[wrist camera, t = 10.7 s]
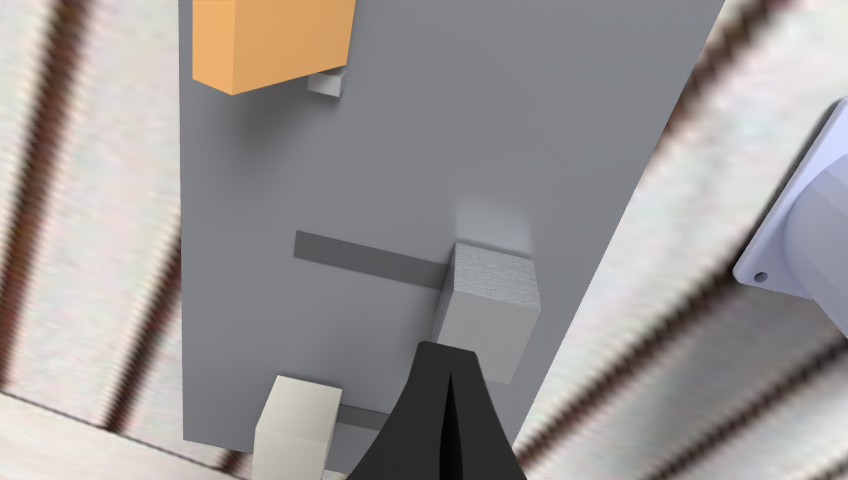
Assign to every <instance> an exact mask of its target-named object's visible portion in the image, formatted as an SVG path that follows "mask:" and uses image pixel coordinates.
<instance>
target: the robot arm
mask: <svg viewBox="0 0 848 480" xmlns="http://www.w3.org/2000/svg"><path fill="white" fill-rule="evenodd" d="M760 272H763V274H762V275H760V276H758V277H754V276H755V275H756V274H757V273H760ZM733 275H734V277H735V278H736V280H737V281H738V282H740V283H742V284H746V285H750V286H754V287H759V288H763V289H767V290H771V291H776V292H780V293H784V294H788V295H792V296H797V297H801V298H805V299H809V300H814V301H816V303H817V304H818V305H819V306H820V307H821V308H822V310H823V311H824V312H825V313H826V314H827V315H828V317H829V318H830V319H831V320H832V321H833V322H834V324H835V325H836V326H837V327H838V328H839V329H840V331H841V332H842V333H843V334H844V335H845V336H846V338H847V339H848V96H847V97H845V98H844V99H842V100H841V101H840V103H839V104H838V105H837V107H836V108H835V110H834V111H833V113H832V115H831V116H830V118H829V119H828V121H827V122H826V124H825V126H824V127H823V129H822V130H821V132H820V133H819V135H818V136H817V138H816V140H815V141H814V143H813V144H812V146H811V147H810V149H809V151H808V152H807V154H806V155H805V157H804V158H803V160H802V162H801V163H800V165H799V166H798V168H797V169H796V171H795V173H794V174H793V176H792V177H791V179H790V180H789V182H788V183H787V185H786V187H785V188H784V190H783V191H782V193H781V194H780V196H779V198H778V199H777V201H776V202H775V204H774V205H773V207H772V209H771V210H770V212H769V213H768V215H767V216H766V218H765V220H764V221H763V223H762V224H761V226H760V227H759V229H758V230H757V232H756V234H755V235H754V237H753V238H752V240H751V241H750V243H749V245H748V246H747V248H746V249H745V251H744V252H743V254H742V256H741V257H740V259H739V260H738V262H737V263H736V265H735V267H734V269H733ZM346 480H527V478H526V476H525V474H524V472H523V470H522V468H521V467H520V464H519V462H518V460H517V458H516V456H515V454H514V452H513V450H512V448H511V446H510V444H509V441H508V439H507V437H506V435H505V432H504V430H503V427H502V425H501V423H500V420H499V418H498V415H497V413H496V410H495V408H494V405H493V403H492V400H491V397H490V394H489V392H488V389H487V386H486V383H485V380H484V377H483V374H482V370H481V367H480V364H479V360H478V356H477V355H476V353H475V352H474V351H469V350H465V349H460V348H456V347H451V346H447V345H442V344H438V343H434V342H429V341H425V340H424V341H422V342H419V343H418V346H417V349H416V353H415V356H414V359H413V363H412V366H411V370H410V373H409V377H408V380H407V383H406V385H405V387H404V389H403V391H402V393H401V395H400V397H399V399H398V401H397V403H396V405H395V407H394V409H393V410H392V412H391V414H390V415H389V417H388V419H387V420H386V422H385V424H384V426H383V427H382V429H381V431H380V432H379V434H378V435H377V437H376V438H375V440H374V441H373V443H372V445H371V446H370V447H369V449H368V450H367V452H366V453H365V455H364V456H363V457H362V459H361V460H360V462H359V463H358V464H357V466H356V467H355V468H354V470H353V471H352V472H351V474H350V475H349V476H348V478H347V479H346Z"/></svg>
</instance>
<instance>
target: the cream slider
mask: <svg viewBox="0 0 848 480" xmlns="http://www.w3.org/2000/svg"><path fill="white" fill-rule="evenodd" d="M341 393H342V389H339V388H334V387H330V386H325V385H320V384H316V383H311V382H307V381H302V380H297V379H293V378H288V377H283V376H279V375H278V376H277V378H276V381H275V383H274V385H273V388H272V390H271V393H270V395H269V397H268V400H267V402H266V405H265V407H264V409H263V412H262V414H261V417H260V419H259V422H258V424H257V426H256V430H255V440H254V451H253V462H252V472H251V480H321V479H322V475H323V471H324V468H325V464H326V460H327V456H328V452H329V449H330V445H331V441H332V437H333V432H334V427H335V422H336V417H337V413H338V408H339V403H340V398H341Z"/></svg>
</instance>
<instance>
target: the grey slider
mask: <svg viewBox="0 0 848 480" xmlns="http://www.w3.org/2000/svg"><path fill="white" fill-rule="evenodd" d="M540 312H541V305H540V299H539V293H538V287H537V281H536V275H535V269H534V263H533V260H529V259H525V258H520V257H516V256H512V255H508V254H503V253H499V252H495V251H490V250H486V249H482V248H477V247H473V246H469V245H465V244H460V243H456V245H455V248H454V251H453V255H452V258H451V261H450V265H449V268H448V271H447V274H446V278H445V281H444V284H443V288H442V291H441V294H440V298H439V301H438V304H437V307H436V311H435V314H434V323H433V333H432V342H434V343H438V344H442V345H447V346H451V347H456V348H460V349H465V350H469V351H474V352H475V353H476V355H477V356H478V360H479V364H480V367H481V370H482V374H483V377H484V379H485V380H490V381H494V382H499V383H503V384H508V385H509V383H510V381H511V379H512V376H513V374H514V372H515V370H516V367H517V365H518V363H519V360H520V358H521V356H522V353H523V351H524V349H525V347H526V344H527V342H528V340H529V337H530V335H531V333H532V330H533V328H534V326H535V323H536V321H537V319H538V317H539V314H540Z"/></svg>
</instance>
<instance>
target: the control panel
mask: <svg viewBox="0 0 848 480" xmlns="http://www.w3.org/2000/svg"><path fill="white" fill-rule="evenodd" d="M724 2H725V0H356V2H355V8H354V15H353V22H352V29H351V36H350V42H349V49H348V56H347V63H346V65H343V66H339V67H335V68H332V69H328V70H324V71H321V72H317V73H313V74H309V75H306V76H302V77H298V78H294V79H291V80H287V81H283V82H280V83H276V84H272V85H268V86H265V87H261V88H257V89H254V90H250V91H246V92H242V93H239V94H235V95H230V94H228V93H225V92H223V91H220V90H218V89H216V88H213V87H211V86H208V85H206V84H204V83H201V82H199V81H197V80H194V79H193V0H179V90H180V182H181V273H182V365H183V440H188V441H192V442H197V443H202V444H207V445H212V446H216V447H221V448H226V449H231V450H235V451H240V452H245V453H250V454H253V451H254V440H255V430H256V426H257V424H258V422H259V419H260V417H261V414H262V412H263V409H264V407H265V405H266V402H267V400H268V397H269V395H270V393H271V390H272V388H273V385H274V383H275V381H276V378H277V376H278V375H279V376H283V377H288V378H293V379H297V380H302V381H307V382H311V383H316V384H320V385H325V386H330V387H334V388H339V389H342V393H341V398H340V403H339V408H338V413H337V417H336V422H335V427H334V432H333V437H332V441H331V445H330V449H329V452H328V456H327V460H326V464H325V468H324V469H326V470H331V471H336V472H341V473H345V474H351V472H352V471H353V470H354V468H355V467H356V466H357V464H358V463H359V462H360V460H361V459H362V457H363V456H364V455H365V453H366V452H367V450H368V449H369V447H370V446H371V445H372V443H373V441H374V440H375V438H376V437H377V435H378V434H379V432H380V431H381V429H382V427H383V426H384V424H385V422H386V420H387V419H388V417H389V415H390V414H391V412H392V410H393V409H394V407H395V405H396V403H397V401H398V399H399V397H400V395H401V393H402V391H403V389H404V387H405V385H406V383H407V380H408V377H409V373H410V370H411V366H412V363H413V359H414V356H415V353H416V349H417V346H418V343H419V342H422V341H424V340H425V341H429V342H432V333H433V323H434V314H435V311H436V307H437V304H438V301H439V298H440V294H441V291H442V288H443V284H444V281H445V278H446V274H447V271H448V268H449V265H450V261H451V258H452V255H453V251H454V248H455V245H456V243H460V244H465V245H469V246H473V247H477V248H482V249H486V250H490V251H495V252H499V253H503V254H508V255H512V256H516V257H520V258H525V259H529V260H533V263H534V269H535V275H536V281H537V287H538V293H539V299H540V305H541V312H540V314H539V317H538V319H537V321H536V323H535V326H534V328H533V330H532V333H531V335H530V337H529V340H528V342H527V344H526V347H525V349H524V351H523V353H522V356H521V358H520V360H519V363H518V365H517V367H516V370H515V372H514V374H513V376H512V379H511V381H510V383H509V385H508V384H503V383H499V382H494V381H490V380H485V379H484V380H485V383H486V386H487V389H488V392H489V394H490V397H491V400H492V403H493V405H494V408H495V410H496V413H497V415H498V418H499V420H500V423H501V425H502V427H503V430H504V432H505V435H506V437H507V439H508V441H509V444H510V446H511V448H512V445H513V443H514V441H515V439H516V437H517V435H518V433H519V431H520V429H521V427H522V425H523V422H524V420H525V418H526V416H527V414H528V412H529V410H530V408H531V406H532V404H533V402H534V399H535V397H536V395H537V393H538V391H539V389H540V387H541V385H542V383H543V381H544V379H545V376H546V374H547V372H548V370H549V368H550V366H551V364H552V362H553V360H554V358H555V356H556V353H557V351H558V349H559V347H560V345H561V343H562V341H563V339H564V337H565V335H566V333H567V330H568V328H569V326H570V324H571V322H572V320H573V318H574V316H575V314H576V312H577V310H578V307H579V305H580V303H581V301H582V299H583V297H584V295H585V293H586V291H587V289H588V287H589V284H590V282H591V280H592V278H593V276H594V274H595V272H596V270H597V268H598V266H599V264H600V261H601V259H602V257H603V255H604V253H605V251H606V249H607V247H608V245H609V243H610V241H611V238H612V236H613V234H614V232H615V230H616V228H617V226H618V224H619V222H620V220H621V217H622V215H623V213H624V211H625V209H626V207H627V205H628V203H629V201H630V199H631V197H632V194H633V192H634V190H635V188H636V186H637V184H638V182H639V180H640V178H641V176H642V174H643V171H644V169H645V167H646V165H647V163H648V161H649V159H650V157H651V155H652V153H653V151H654V148H655V146H656V144H657V142H658V140H659V138H660V136H661V134H662V132H663V130H664V128H665V125H666V123H667V121H668V119H669V117H670V115H671V113H672V111H673V109H674V107H675V105H676V102H677V100H678V98H679V96H680V94H681V92H682V90H683V88H684V86H685V84H686V82H687V79H688V77H689V75H690V73H691V71H692V69H693V67H694V65H695V63H696V61H697V59H698V56H699V54H700V52H701V50H702V48H703V46H704V44H705V42H706V40H707V38H708V36H709V33H710V31H711V29H712V27H713V25H714V23H715V21H716V19H717V17H718V15H719V13H720V10H721V8H722V6H723V4H724Z"/></svg>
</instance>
